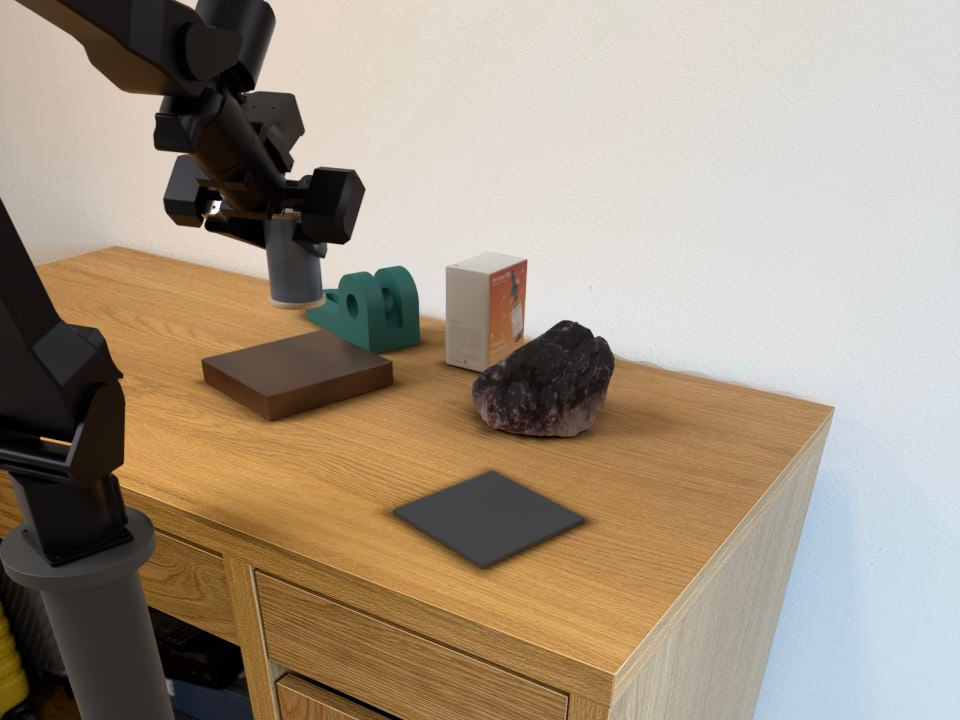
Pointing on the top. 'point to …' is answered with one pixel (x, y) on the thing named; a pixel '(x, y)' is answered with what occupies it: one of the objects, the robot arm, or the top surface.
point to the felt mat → (488, 518)
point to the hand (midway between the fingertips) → (300, 251)
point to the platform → (297, 373)
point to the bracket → (372, 310)
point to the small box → (484, 309)
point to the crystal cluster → (547, 383)
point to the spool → (291, 267)
